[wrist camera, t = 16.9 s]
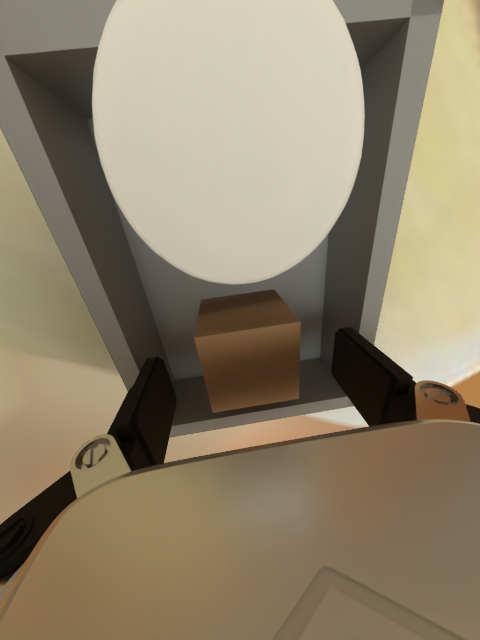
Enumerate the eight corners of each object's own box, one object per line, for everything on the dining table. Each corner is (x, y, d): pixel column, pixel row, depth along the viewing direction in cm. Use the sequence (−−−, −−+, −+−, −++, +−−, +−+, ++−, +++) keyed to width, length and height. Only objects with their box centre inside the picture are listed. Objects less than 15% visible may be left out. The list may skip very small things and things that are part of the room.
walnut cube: (201, 299, 14) (194, 337, 10) (274, 289, 14) (300, 321, 10) (213, 359, 16) (212, 412, 12) (276, 349, 16) (299, 398, 12)
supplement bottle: (244, 114, 10) (394, -440, 2) (284, 223, 12) (434, 235, 4) (151, 174, 11) (-97, 9, 2) (206, 266, 13) (186, 358, 5)
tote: (167, 385, 18) (151, 440, 13) (64, 100, 10) (-60, 3, 5) (326, 359, 18) (361, 404, 14) (351, 70, 10) (452, -40, 6)
